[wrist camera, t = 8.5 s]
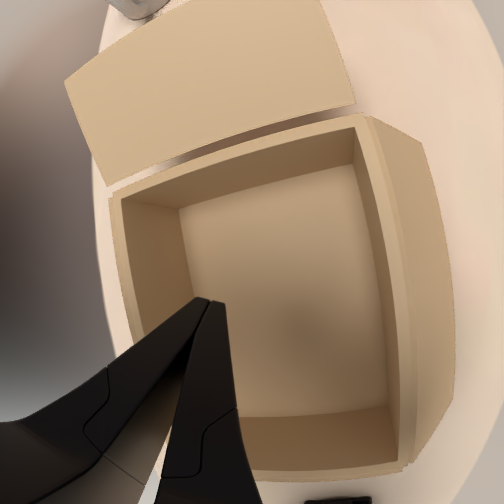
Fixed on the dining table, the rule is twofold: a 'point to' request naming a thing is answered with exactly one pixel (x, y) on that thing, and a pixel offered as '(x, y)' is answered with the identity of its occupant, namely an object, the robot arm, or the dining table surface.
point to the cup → (137, 7)
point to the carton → (307, 289)
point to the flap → (205, 79)
